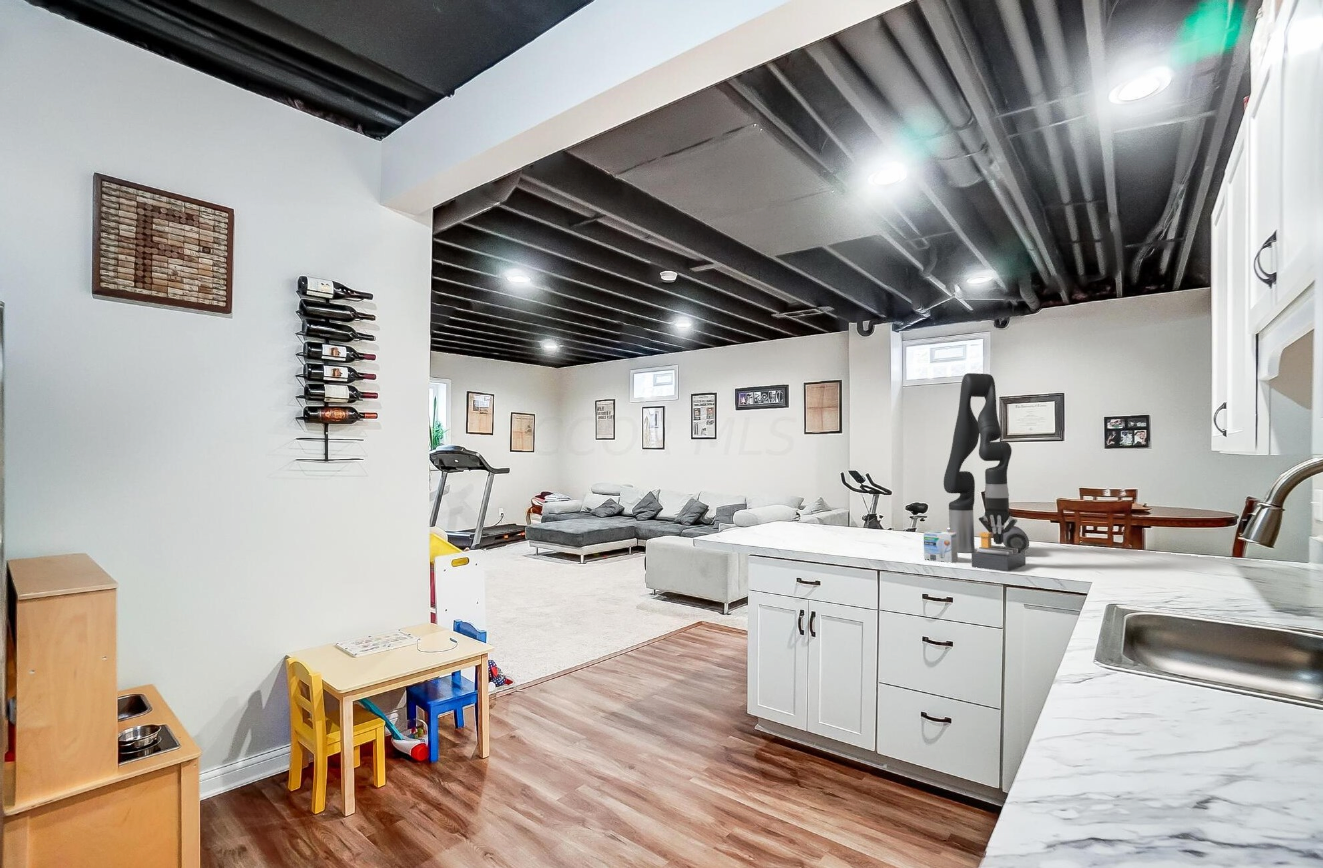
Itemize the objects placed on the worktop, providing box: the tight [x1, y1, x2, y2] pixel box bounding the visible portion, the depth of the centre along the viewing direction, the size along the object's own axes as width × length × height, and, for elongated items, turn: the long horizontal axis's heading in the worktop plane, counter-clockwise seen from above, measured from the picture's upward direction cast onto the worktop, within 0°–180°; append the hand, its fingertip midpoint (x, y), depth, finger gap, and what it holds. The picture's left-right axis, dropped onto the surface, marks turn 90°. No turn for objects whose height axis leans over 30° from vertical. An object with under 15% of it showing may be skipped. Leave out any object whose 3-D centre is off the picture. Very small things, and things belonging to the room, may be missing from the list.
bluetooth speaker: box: [1002, 525, 1030, 552], centre depth 250 cm, size 23×9×10 cm, turn 154°
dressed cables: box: [976, 544, 1021, 556], centre depth 222 cm, size 11×12×1 cm
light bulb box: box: [923, 530, 959, 564], centre depth 235 cm, size 11×7×11 cm, turn 47°
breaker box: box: [970, 545, 1027, 572], centre depth 222 cm, size 12×17×6 cm
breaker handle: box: [978, 531, 993, 548], centre depth 225 cm, size 3×4×6 cm
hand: (998, 543), depth 222 cm, fingers closed
